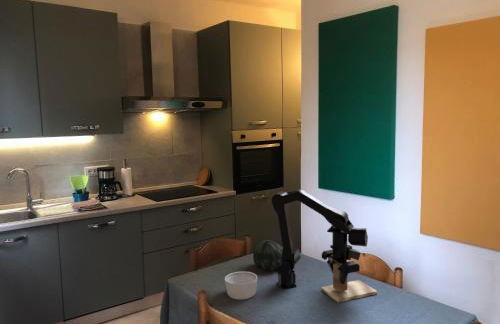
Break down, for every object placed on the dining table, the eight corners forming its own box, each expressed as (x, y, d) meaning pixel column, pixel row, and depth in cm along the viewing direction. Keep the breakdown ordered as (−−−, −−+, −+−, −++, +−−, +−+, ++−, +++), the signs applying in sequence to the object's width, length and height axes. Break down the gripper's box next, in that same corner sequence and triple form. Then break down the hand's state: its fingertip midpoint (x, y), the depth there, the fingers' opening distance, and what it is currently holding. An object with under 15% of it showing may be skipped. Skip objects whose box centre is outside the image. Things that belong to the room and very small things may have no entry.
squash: (272, 248, 201) (257, 230, 193) (295, 256, 190) (280, 238, 182) (256, 272, 195) (241, 255, 187) (279, 281, 184) (264, 264, 176)
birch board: (337, 302, 153) (337, 299, 153) (321, 290, 164) (321, 287, 164) (377, 294, 159) (377, 291, 159) (359, 282, 170) (359, 279, 170)
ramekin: (219, 299, 159) (219, 282, 158) (232, 285, 171) (232, 269, 170) (251, 303, 154) (250, 286, 154) (262, 289, 167) (261, 273, 166)
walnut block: (338, 291, 157) (338, 266, 156) (333, 287, 161) (332, 263, 160) (347, 290, 159) (347, 265, 157) (341, 286, 162) (341, 261, 161)
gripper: (372, 247, 152) (371, 287, 153) (344, 234, 169) (344, 270, 171) (346, 252, 148) (346, 292, 150) (320, 238, 165) (321, 274, 167)
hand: (339, 281), depth 159 cm, fingers closed on walnut block, 4 cm apart
